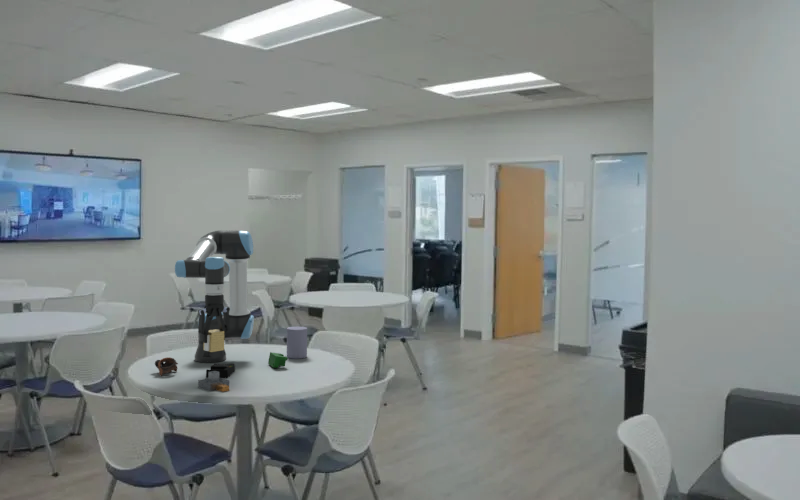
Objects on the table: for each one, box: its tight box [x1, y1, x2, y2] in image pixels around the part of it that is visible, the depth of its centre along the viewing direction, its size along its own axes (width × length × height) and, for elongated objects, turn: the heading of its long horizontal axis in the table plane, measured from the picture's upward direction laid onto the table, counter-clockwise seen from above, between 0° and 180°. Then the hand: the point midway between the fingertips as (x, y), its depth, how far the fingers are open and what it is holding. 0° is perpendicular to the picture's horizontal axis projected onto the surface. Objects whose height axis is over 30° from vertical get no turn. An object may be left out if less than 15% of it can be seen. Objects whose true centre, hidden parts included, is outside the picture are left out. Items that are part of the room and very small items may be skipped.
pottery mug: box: [154, 357, 179, 377], centre depth 287 cm, size 12×9×8 cm
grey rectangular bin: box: [197, 371, 230, 393], centre depth 265 cm, size 14×9×6 cm, turn 48°
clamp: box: [267, 351, 288, 369], centre depth 307 cm, size 12×6×9 cm, turn 21°
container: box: [286, 326, 308, 360], centre depth 329 cm, size 10×10×15 cm
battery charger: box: [205, 362, 236, 379], centre depth 289 cm, size 13×10×4 cm
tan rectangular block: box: [203, 329, 225, 352], centre depth 266 cm, size 6×6×8 cm
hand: (214, 349), depth 266 cm, fingers closed on tan rectangular block, 6 cm apart
